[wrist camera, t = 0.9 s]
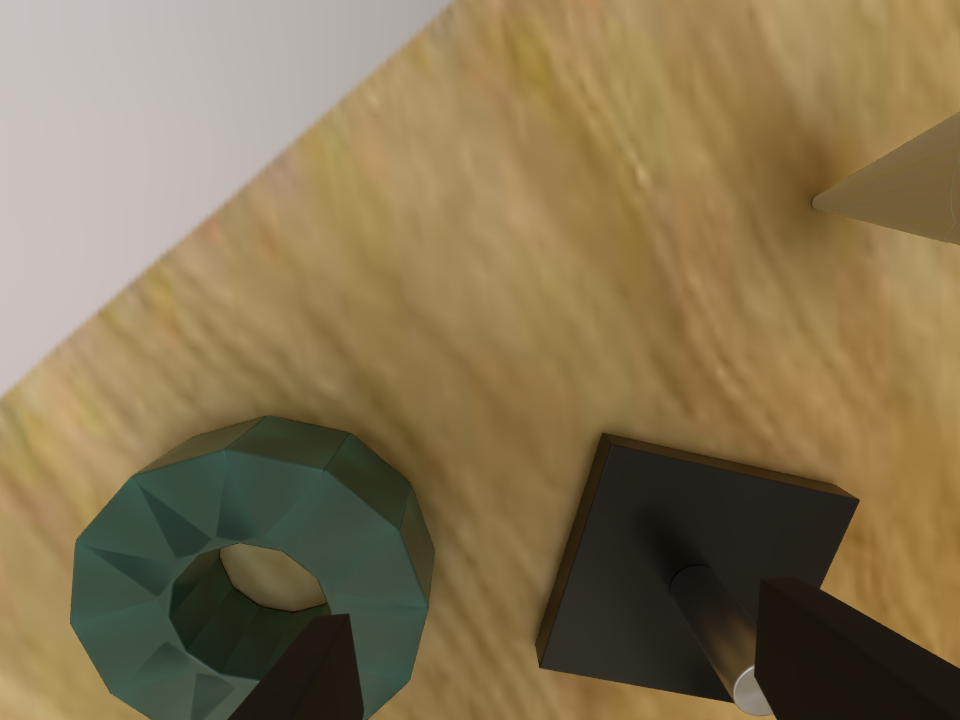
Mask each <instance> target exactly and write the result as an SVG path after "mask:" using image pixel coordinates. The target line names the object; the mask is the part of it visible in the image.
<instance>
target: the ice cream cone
mask: <svg viewBox="0 0 960 720" xmlns="http://www.w3.org/2000/svg"><path fill="white" fill-rule="evenodd" d="M812 206H813V207H814V208H815V209H817V210H821V211H825V212H829V213H833V214H837V215H841V216H845V217H849V218H853V219H857V220H860V221H864V222H868V223H872V224H876V225H880V226H884V227H888V228H892V229H896V230H900V231H903V232H907V233H911V234H915V235H919V236H923V237H927V238H931V239H935V240H939V241H942V242H946V243H947V242H949V243H953V244H957V245H960V112H958V113H957V114H955V115H953V116H951V117H950V118H948V119H946V120H945V121H943V122H941V123H939V124H938V125H936V126H934V127H933V128H931V129H929V130H928V131H926V132H924V133H922V134H921V135H919V136H917V137H916V138H914V139H912V140H911V141H909V142H907V143H905V144H904V145H902V146H900V147H899V148H897V149H895V150H893V151H892V152H890V153H888V154H887V155H885V156H883V157H882V158H880V159H878V160H876V161H875V162H873V163H871V164H870V165H868V166H866V167H865V168H863V169H861V170H859V171H858V172H856V173H854V174H853V175H851V176H849V177H847V178H846V179H844V180H842V181H841V182H839V183H837V184H836V185H834V186H832V187H830V188H829V189H827V190H825V191H824V192H822V193H820V194H819V195H817V196H815V197H814V199H813V201H812Z"/></svg>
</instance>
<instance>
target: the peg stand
mask: <svg viewBox="0 0 960 720" xmlns="http://www.w3.org/2000/svg"><path fill="white" fill-rule="evenodd" d="M859 501H860V500H859V499H858V498H856V497H854V496H853V495H851V494H849V493H848V492H846V491H844V490H843V489H841V488H840V487H838V486H836V485H833V484H828V483H824V482H819V481H815V480H810V479H806V478H801V477H797V476H793V475H788V474H784V473H779V472H775V471H770V470H766V469H761V468H757V467H753V466H748V465H744V464H739V463H735V462H730V461H726V460H722V459H717V458H713V457H708V456H704V455H699V454H695V453H690V452H686V451H682V450H677V449H673V448H668V447H664V446H659V445H655V444H650V443H646V442H642V441H637V440H633V439H628V438H624V437H619V436H615V435H611V434H606V433H602V435H601V438H600V442H599V445H598V448H597V451H596V454H595V457H594V461H593V464H592V467H591V470H590V473H589V476H588V479H587V483H586V486H585V489H584V492H583V495H582V498H581V502H580V505H579V508H578V511H577V514H576V517H575V520H574V524H573V527H572V530H571V533H570V536H569V539H568V543H567V546H566V549H565V552H564V555H563V558H562V561H561V565H560V568H559V571H558V574H557V577H556V580H555V583H554V587H553V590H552V593H551V596H550V599H549V602H548V606H547V609H546V612H545V615H544V618H543V621H542V624H541V628H540V631H539V634H538V637H537V640H536V643H535V646H536V652H537V657H538V663H539V668H542V669H548V670H554V671H559V672H565V673H570V674H576V675H581V676H587V677H592V678H598V679H603V680H609V681H614V682H620V683H625V684H631V685H636V686H642V687H647V688H653V689H659V690H664V691H670V692H675V693H681V694H686V695H692V696H697V697H703V698H708V699H714V700H719V701H725V702H730V703H735V704H736V705H737V707H738V708H739V709H741V710H742V711H743V712H745V713H747V714H750V715H753V716H768V715H772V714H773V712H772V710H771V708H770V706H769V704H768V702H767V700H766V698H765V696H764V695H763V693H762V691H761V689H760V687H759V685H758V683H757V681H756V679H755V677H754V665H755V650H756V635H757V620H758V606H759V591H760V579H766V578H778V577H790V576H796V577H798V578H800V579H801V580H803V581H805V582H807V583H809V584H811V585H813V586H815V587H817V588H819V589H820V587H821V585H822V583H823V580H824V578H825V576H826V574H827V572H828V569H829V567H830V565H831V563H832V561H833V558H834V556H835V554H836V552H837V550H838V547H839V545H840V543H841V541H842V539H843V536H844V534H845V532H846V530H847V528H848V525H849V523H850V521H851V519H852V517H853V514H854V512H855V510H856V508H857V506H858V504H859Z"/></svg>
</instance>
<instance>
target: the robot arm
mask: <svg viewBox="0 0 960 720" xmlns="http://www.w3.org/2000/svg"><path fill="white" fill-rule="evenodd" d="M754 677H755V679H756V681H757V683H758V685H759V687H760V689H761V691H762V693H763V695H764V696H765V698H766V700H767V702H768V704H769V706H770V708H771V710H772V712H773V714H774V715H775V717H776V719H777V720H960V669H959V668H958V667H956V666H954V665H952V664H951V663H949V662H947V661H945V660H943V659H942V658H940V657H938V656H936V655H935V654H933V653H931V652H929V651H928V650H926V649H924V648H922V647H921V646H919V645H917V644H915V643H913V642H912V641H910V640H908V639H906V638H905V637H903V636H901V635H899V634H898V633H896V632H894V631H893V630H891V629H889V628H887V627H886V626H884V625H882V624H880V623H879V622H877V621H875V620H873V619H872V618H870V617H868V616H866V615H865V614H863V613H861V612H859V611H858V610H856V609H854V608H852V607H851V606H849V605H847V604H845V603H844V602H842V601H840V600H838V599H837V598H835V597H833V596H831V595H829V594H828V593H826V592H824V591H822V590H820V589H819V588H817V587H815V586H813V585H811V584H809V583H807V582H805V581H803V580H801V579H800V578H798V577H796V576H790V577H778V578H766V579H760V591H759V606H758V620H757V635H756V650H755V665H754ZM363 715H364V704H363V697H362V691H361V685H360V678H359V672H358V666H357V659H356V653H355V646H354V640H353V634H352V627H351V621H350V614H349V613H348V614H336V615H324V616H314V617H313V618H312V620H311V621H310V622H309V623H308V624H307V625H306V626H305V628H304V629H303V630H302V631H301V632H300V633H299V635H298V636H297V637H296V638H295V639H294V641H293V642H292V643H291V644H290V645H289V647H288V648H287V649H286V650H285V651H284V653H283V654H282V655H281V656H280V658H279V659H278V660H277V661H276V662H275V664H274V665H273V666H272V667H271V668H270V670H269V671H268V672H267V673H266V674H265V676H264V677H263V678H262V679H261V680H260V682H259V683H258V684H257V685H256V686H255V688H254V689H253V690H252V691H251V692H250V694H249V695H248V696H247V697H246V698H245V699H244V701H243V702H242V703H241V704H240V705H239V706H238V707H237V709H236V710H235V711H234V712H233V713H232V714H231V716H230V717H229V718H228V719H227V720H363Z"/></svg>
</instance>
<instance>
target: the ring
mask: <svg viewBox="0 0 960 720" xmlns="http://www.w3.org/2000/svg"><path fill="white" fill-rule="evenodd" d="M237 543H243V544H248V545H253V546H258V547H264V548H269V549H274V550H279V551H282V552H284V553H285V554H286V555H288V556H289V557H290V558H292V559H293V560H294V561H296V562H297V563H298V564H300V565H301V566H302V567H304V568H305V569H306V570H308V571H309V572H310V573H312V574H313V575H314V576H316V577H317V579H318V581H319V584H320V586H321V588H322V591H323V593H324V595H325V598H326V600H327V603H326V604H325V605H322V606H318V607H315V608H311V609H307V610H304V611H300V612H296V613H289V612H284V611H278V610H273V609H268V608H262V607H259V606H258V605H256V604H255V603H254V602H252V601H251V600H249V599H248V598H247V597H245V596H244V595H242V594H241V593H240V592H238V591H237V590H236V589H234V588H233V587H232V585H231V582H230V580H229V578H228V576H227V574H226V572H225V570H224V568H223V566H222V564H221V561H220V559H219V551H220V548H223V547H227V546H230V545H234V544H237ZM434 553H435V552H434V547H433V544H432V541H431V539H430V536H429V533H428V530H427V527H426V525H425V522H424V519H423V516H422V513H421V510H420V508H419V505H418V502H417V499H416V496H415V494H414V491H413V488H412V485H411V484H410V482H409V481H407V480H406V479H405V478H404V477H403V476H401V475H400V474H399V473H398V472H397V471H395V470H394V469H393V468H392V467H391V466H389V465H388V464H387V463H386V462H385V461H384V460H382V459H381V458H380V457H379V456H378V455H376V454H375V453H374V452H373V451H372V450H370V449H369V448H368V447H367V446H366V445H364V444H363V443H362V442H361V441H360V440H358V439H357V438H356V437H355V436H354V435H352V434H351V433H350V434H349V433H348V432H343V431H338V430H334V429H329V428H324V427H320V426H315V425H310V424H306V423H301V422H296V421H292V420H287V419H283V418H278V417H273V416H264V417H260V418H257V419H254V420H250V421H247V422H243V423H240V424H236V425H233V426H230V427H226V428H223V429H219V430H216V431H212V432H209V433H205V434H202V435H199V436H195V437H192V438H191V439H189V440H187V441H186V442H184V443H182V444H181V445H179V446H178V447H176V448H175V449H173V450H171V451H170V452H168V453H167V454H165V455H164V456H162V457H161V458H159V459H157V460H156V461H154V462H153V463H151V464H150V465H148V466H147V467H145V468H143V469H142V470H140V471H139V472H137V473H136V474H134V475H133V476H131V477H130V478H129V479H128V481H127V482H126V483H125V484H124V485H123V486H122V487H121V489H120V490H119V491H118V492H117V493H116V494H115V495H114V497H113V498H112V499H111V500H110V501H109V502H108V504H107V505H106V506H105V507H104V508H103V509H102V510H101V512H100V513H99V514H98V515H97V516H96V517H95V518H94V520H93V521H92V522H91V523H90V524H89V525H88V526H87V528H86V529H85V530H84V531H83V532H82V533H81V535H80V536H79V537H78V538H77V539H76V543H75V553H74V568H73V583H72V597H71V612H70V621H71V622H70V624H71V626H72V628H73V630H74V631H75V633H76V635H77V637H78V638H79V640H80V642H81V643H82V645H83V647H84V649H85V650H86V652H87V654H88V656H89V657H90V659H91V661H92V662H93V664H94V666H95V668H96V669H97V671H98V673H99V675H100V676H101V678H102V680H103V681H104V683H105V685H106V687H107V688H108V690H109V692H110V693H111V694H113V695H114V696H115V697H117V698H118V699H120V700H121V701H123V702H125V703H126V704H128V705H129V706H131V707H132V708H134V709H135V710H137V711H139V712H140V713H142V714H143V715H145V716H146V717H148V718H150V719H151V720H227V719H228V718H229V717H230V716H231V714H232V713H233V712H234V711H235V710H236V709H237V707H238V706H239V705H240V704H241V703H242V702H243V701H244V699H245V698H246V697H247V696H248V695H249V694H250V692H251V691H252V690H253V689H254V688H255V686H256V685H257V684H258V683H259V682H260V680H261V679H262V678H263V677H264V676H265V674H266V673H267V672H268V671H269V670H270V668H271V667H272V666H273V665H274V664H275V662H276V661H277V660H278V659H279V658H280V656H281V655H282V654H283V653H284V651H285V650H286V649H287V648H288V647H289V645H290V644H291V643H292V642H293V641H294V639H295V638H296V637H297V636H298V635H299V633H300V632H301V631H302V630H303V629H304V628H305V626H306V625H307V624H308V623H309V622H310V621H311V620H312V618H313V617H314V616H324V615H336V614H348V613H349V614H350V621H351V627H352V634H353V640H354V646H355V653H356V659H357V666H358V672H359V678H360V685H361V691H362V697H363V704H364V715H363V720H368V719H369V718H370V717H371V716H372V715H373V714H374V713H375V712H377V711H378V710H379V709H380V708H381V707H382V706H383V705H384V704H385V703H386V702H387V701H388V700H390V699H391V698H392V697H393V696H394V695H395V694H396V693H397V692H398V691H399V690H400V689H402V688H403V687H404V686H405V685H406V684H407V683H408V682H409V680H410V678H411V675H412V671H413V667H414V663H415V659H416V655H417V651H418V647H419V643H420V639H421V635H422V631H423V628H424V624H425V620H426V616H427V612H428V607H429V598H430V589H431V580H432V571H433V562H434Z"/></svg>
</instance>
